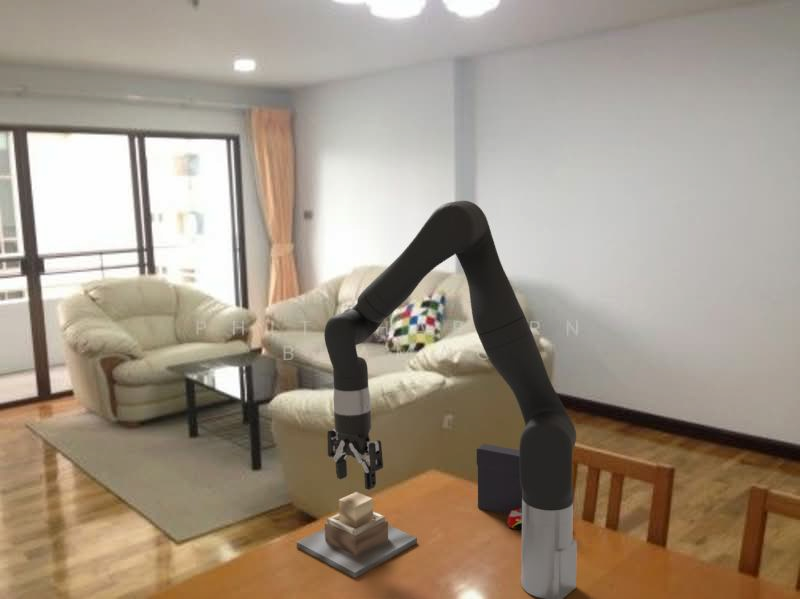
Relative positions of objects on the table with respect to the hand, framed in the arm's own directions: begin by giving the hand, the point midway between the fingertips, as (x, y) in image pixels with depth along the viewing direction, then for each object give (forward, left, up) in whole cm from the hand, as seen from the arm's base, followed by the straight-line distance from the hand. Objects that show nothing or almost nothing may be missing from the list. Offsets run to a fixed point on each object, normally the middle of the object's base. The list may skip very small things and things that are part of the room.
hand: (355, 482), depth 145 cm
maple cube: (0, 0, -9) cm, 9 cm away
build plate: (0, 0, -14) cm, 14 cm away
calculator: (-14, -33, -14) cm, 38 cm away
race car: (-24, -32, -14) cm, 42 cm away
